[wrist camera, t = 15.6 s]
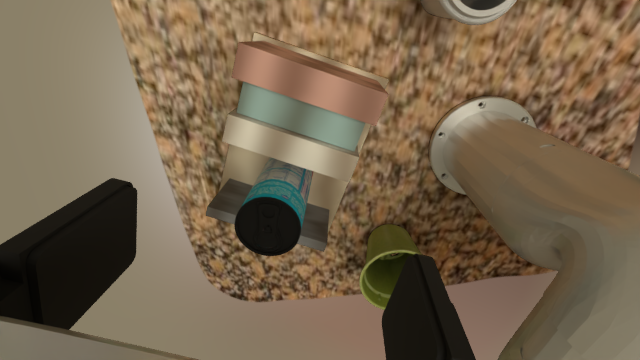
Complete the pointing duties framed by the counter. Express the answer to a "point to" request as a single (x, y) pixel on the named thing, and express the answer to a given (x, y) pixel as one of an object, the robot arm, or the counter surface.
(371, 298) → the plant pot
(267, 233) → the beverage can
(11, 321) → the robot arm
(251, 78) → the book rack
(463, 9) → the cup
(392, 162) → the counter surface
